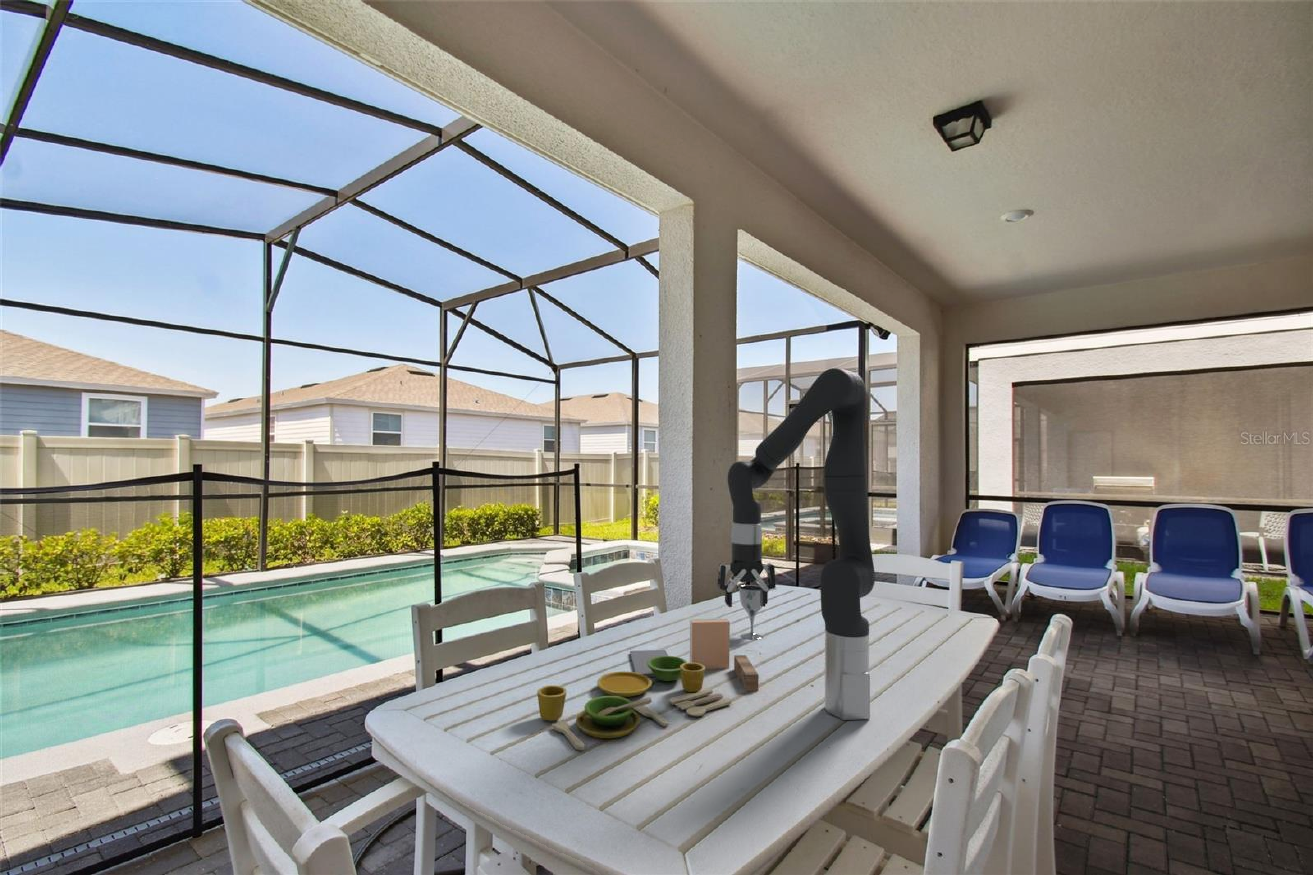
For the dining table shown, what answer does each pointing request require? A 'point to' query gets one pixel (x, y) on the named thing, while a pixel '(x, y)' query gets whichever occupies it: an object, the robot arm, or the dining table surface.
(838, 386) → the robot arm
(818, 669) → the dining table surface
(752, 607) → the wine glass
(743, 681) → the walnut stick
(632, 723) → the tableware set
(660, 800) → the dining table surface
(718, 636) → the terracotta tile
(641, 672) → the rubber mat
